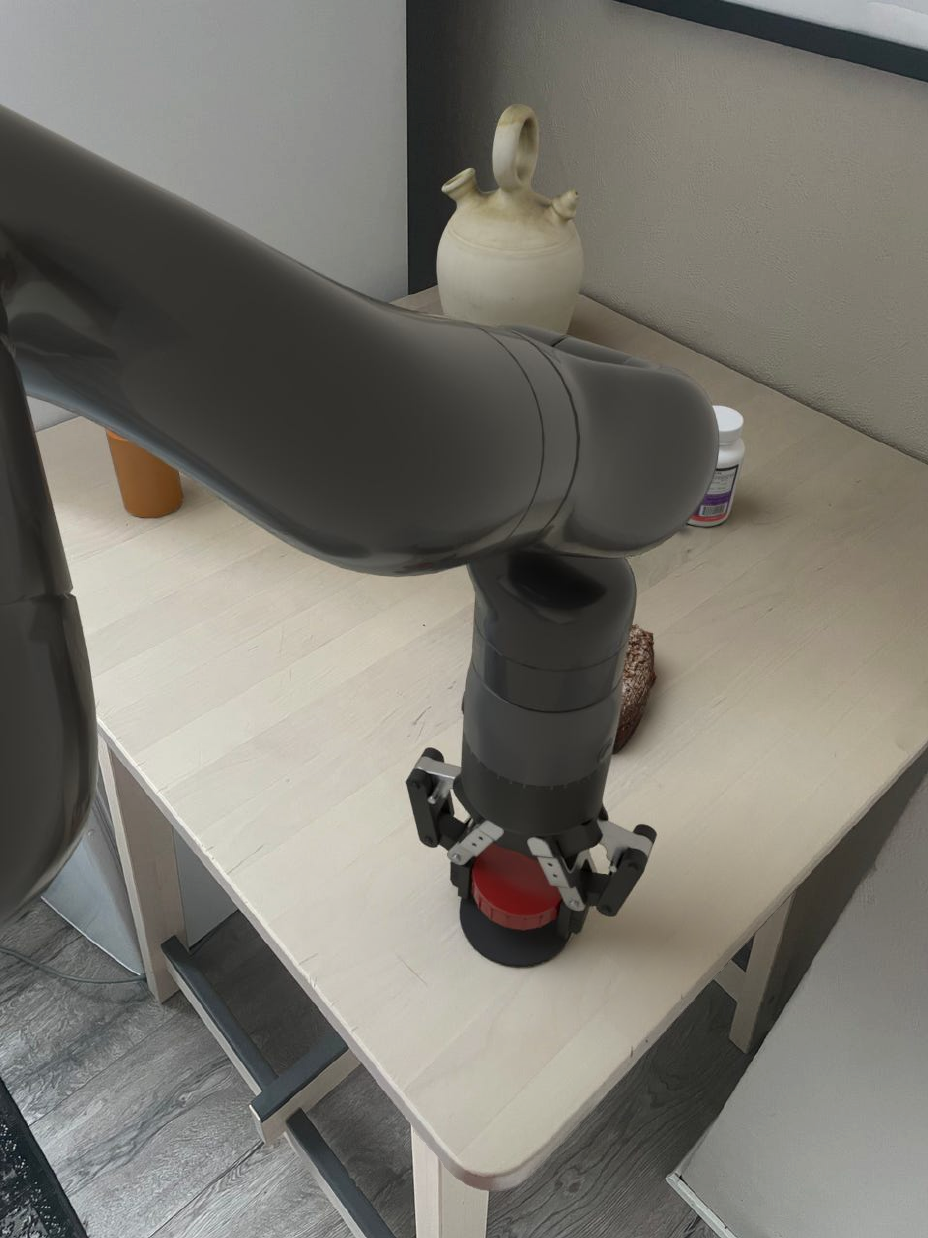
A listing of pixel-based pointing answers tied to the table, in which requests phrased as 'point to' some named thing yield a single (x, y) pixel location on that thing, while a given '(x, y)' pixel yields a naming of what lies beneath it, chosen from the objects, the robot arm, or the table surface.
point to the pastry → (635, 684)
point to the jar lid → (513, 889)
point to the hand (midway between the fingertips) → (516, 904)
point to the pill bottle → (723, 470)
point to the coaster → (509, 939)
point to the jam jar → (144, 479)
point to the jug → (510, 239)
